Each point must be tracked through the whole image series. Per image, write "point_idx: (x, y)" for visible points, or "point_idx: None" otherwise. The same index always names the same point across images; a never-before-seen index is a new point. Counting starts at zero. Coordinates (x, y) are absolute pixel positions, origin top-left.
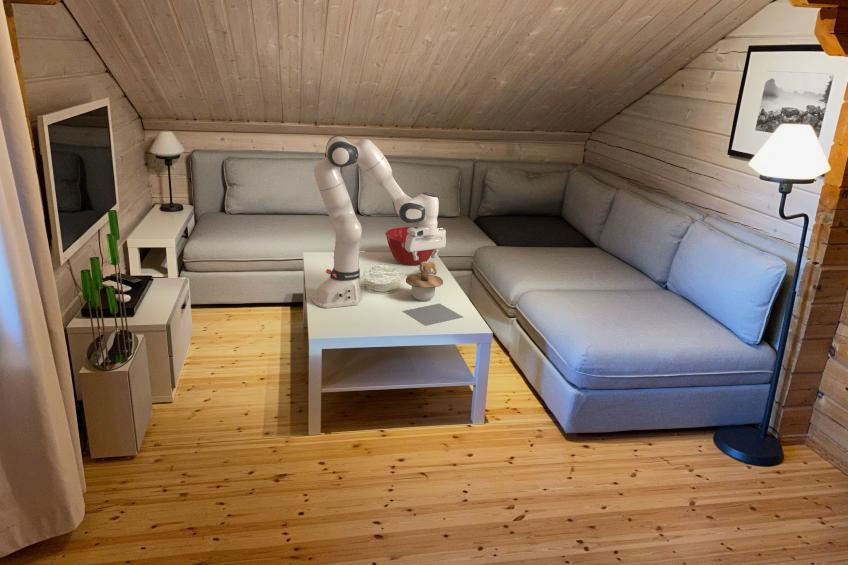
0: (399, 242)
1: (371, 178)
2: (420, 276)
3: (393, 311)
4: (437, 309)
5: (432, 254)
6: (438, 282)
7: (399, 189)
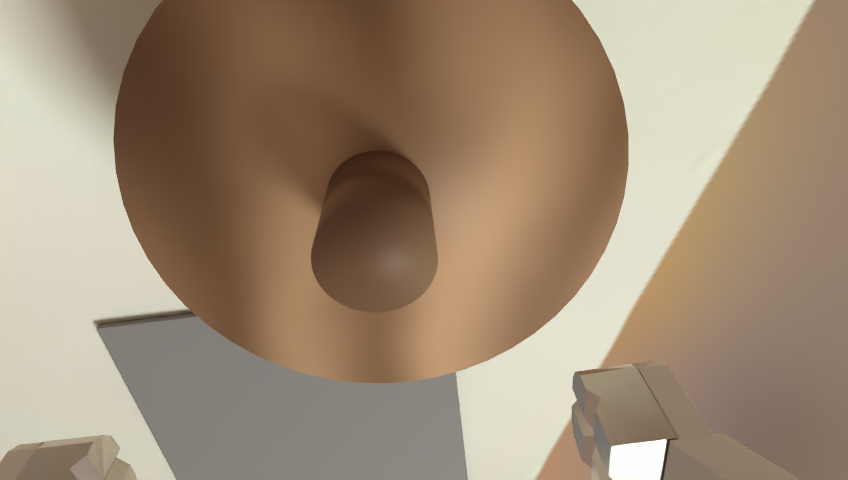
0: None
1: None
2: (390, 44)
3: (31, 300)
4: None
5: (612, 474)
6: (499, 313)
7: None
